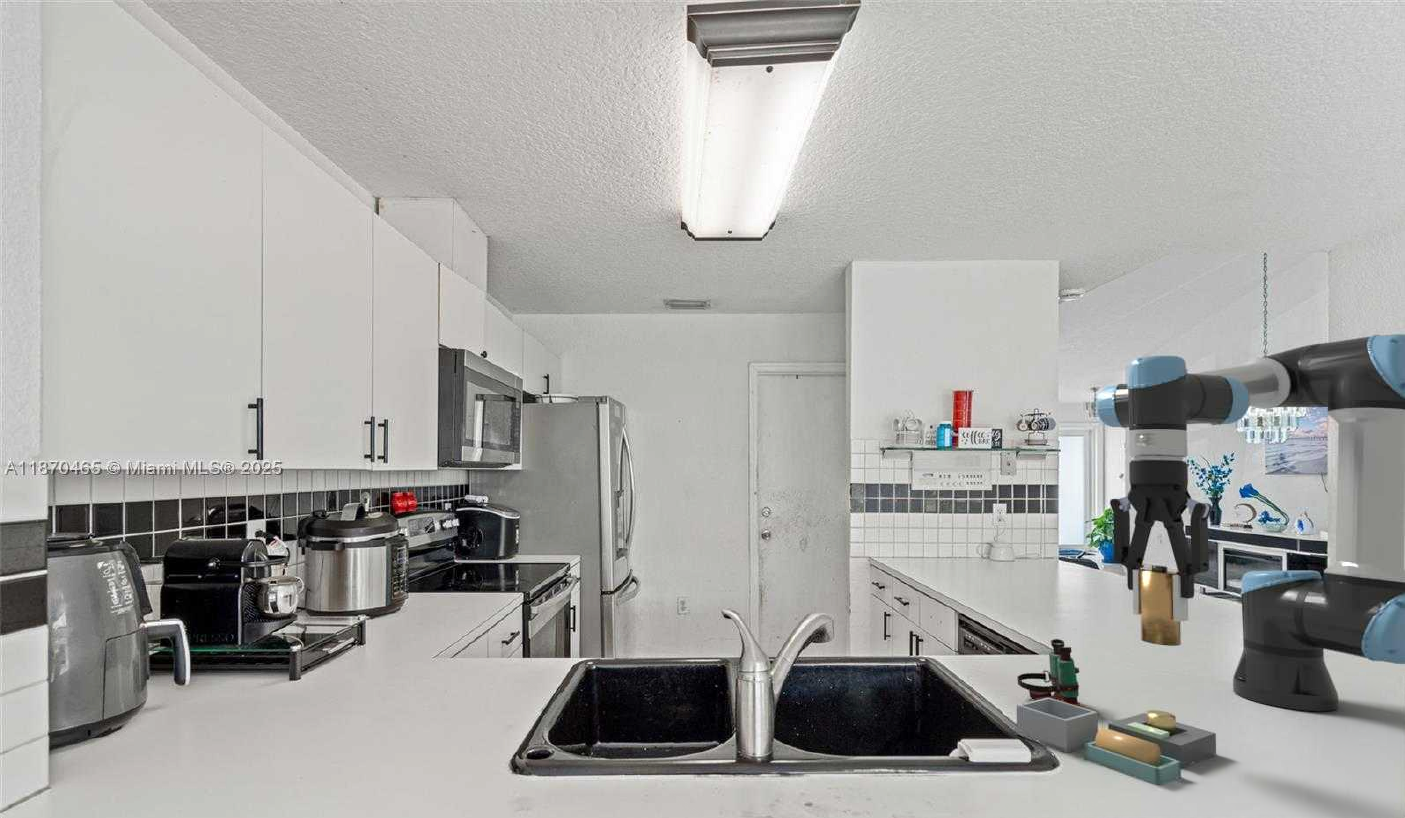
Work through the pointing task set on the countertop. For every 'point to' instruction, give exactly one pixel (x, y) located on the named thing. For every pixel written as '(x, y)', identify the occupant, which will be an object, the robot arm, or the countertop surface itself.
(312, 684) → the countertop surface
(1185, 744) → the base
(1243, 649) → the robot arm
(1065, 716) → the open box
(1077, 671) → the binoculars
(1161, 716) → the yellow rounded lump
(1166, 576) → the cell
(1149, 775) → the trough
